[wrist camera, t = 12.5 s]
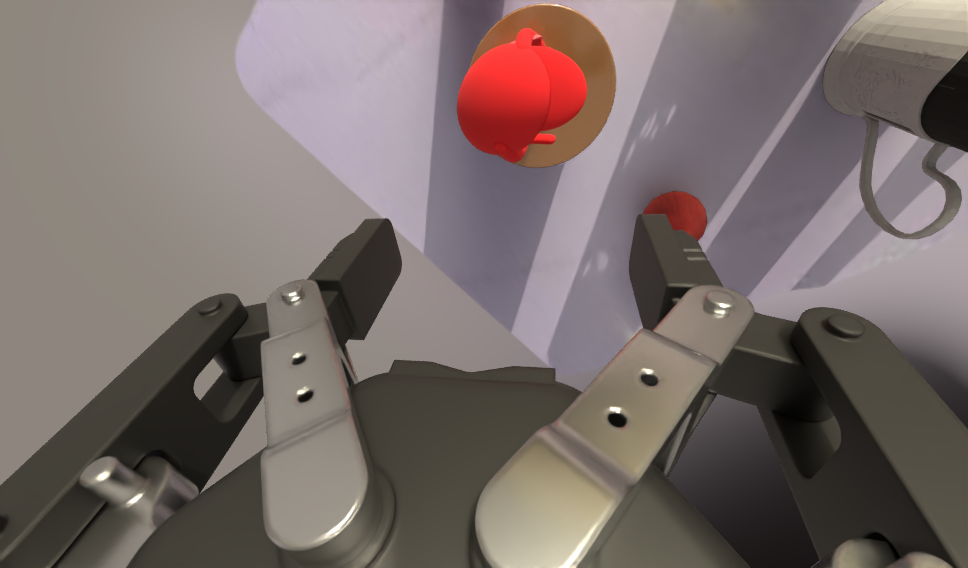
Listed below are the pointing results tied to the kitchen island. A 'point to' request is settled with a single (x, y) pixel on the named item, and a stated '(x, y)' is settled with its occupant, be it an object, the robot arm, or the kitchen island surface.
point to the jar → (586, 50)
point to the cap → (519, 96)
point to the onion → (680, 212)
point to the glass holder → (906, 87)
